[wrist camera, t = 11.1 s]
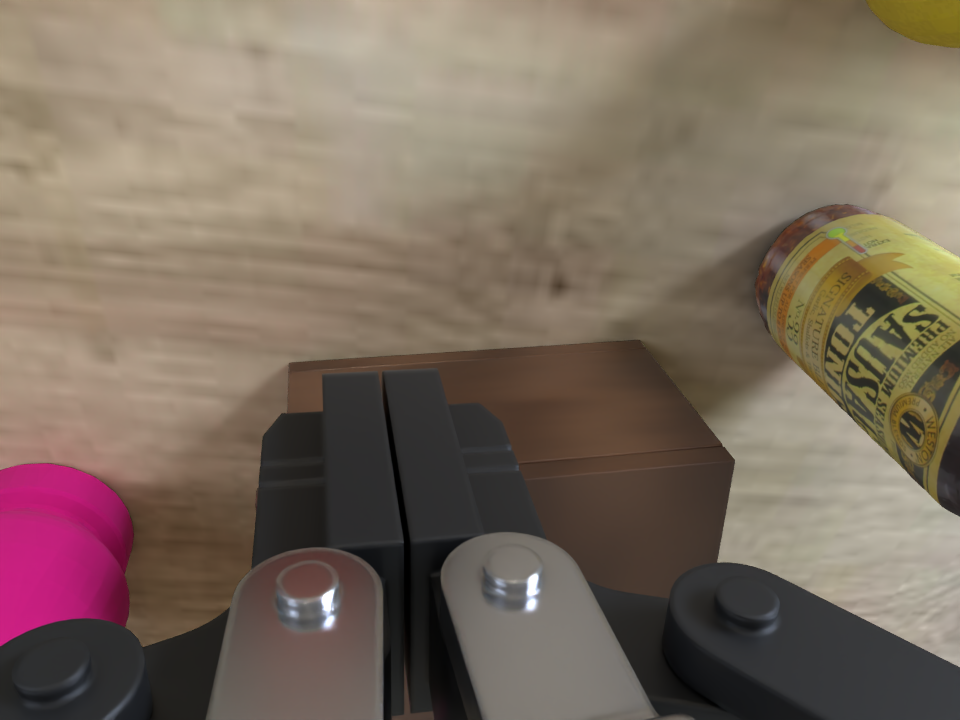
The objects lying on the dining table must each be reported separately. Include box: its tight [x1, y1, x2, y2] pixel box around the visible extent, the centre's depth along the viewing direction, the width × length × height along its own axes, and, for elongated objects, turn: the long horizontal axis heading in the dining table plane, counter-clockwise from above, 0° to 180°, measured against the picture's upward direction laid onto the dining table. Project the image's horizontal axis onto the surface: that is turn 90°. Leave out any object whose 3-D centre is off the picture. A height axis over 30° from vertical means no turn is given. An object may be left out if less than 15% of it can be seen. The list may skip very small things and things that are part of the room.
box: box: [287, 340, 722, 465], centre depth 33 cm, size 14×12×8 cm
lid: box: [255, 447, 735, 720], centre depth 29 cm, size 14×12×1 cm
